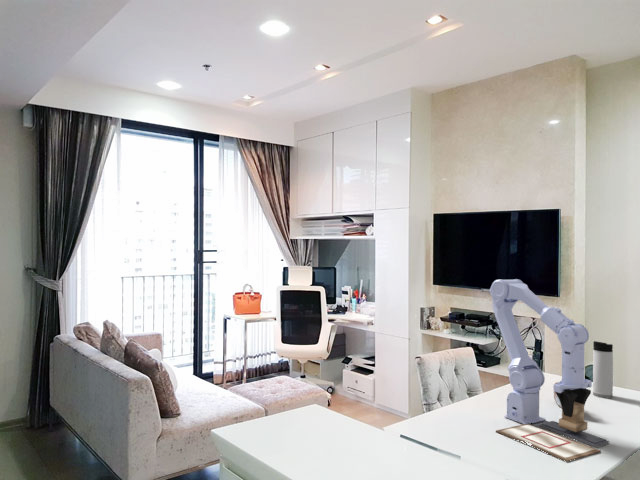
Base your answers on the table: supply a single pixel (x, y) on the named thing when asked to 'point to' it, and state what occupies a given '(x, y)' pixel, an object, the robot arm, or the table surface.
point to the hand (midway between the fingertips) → (572, 414)
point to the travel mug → (602, 369)
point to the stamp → (574, 419)
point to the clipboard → (549, 442)
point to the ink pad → (575, 434)
